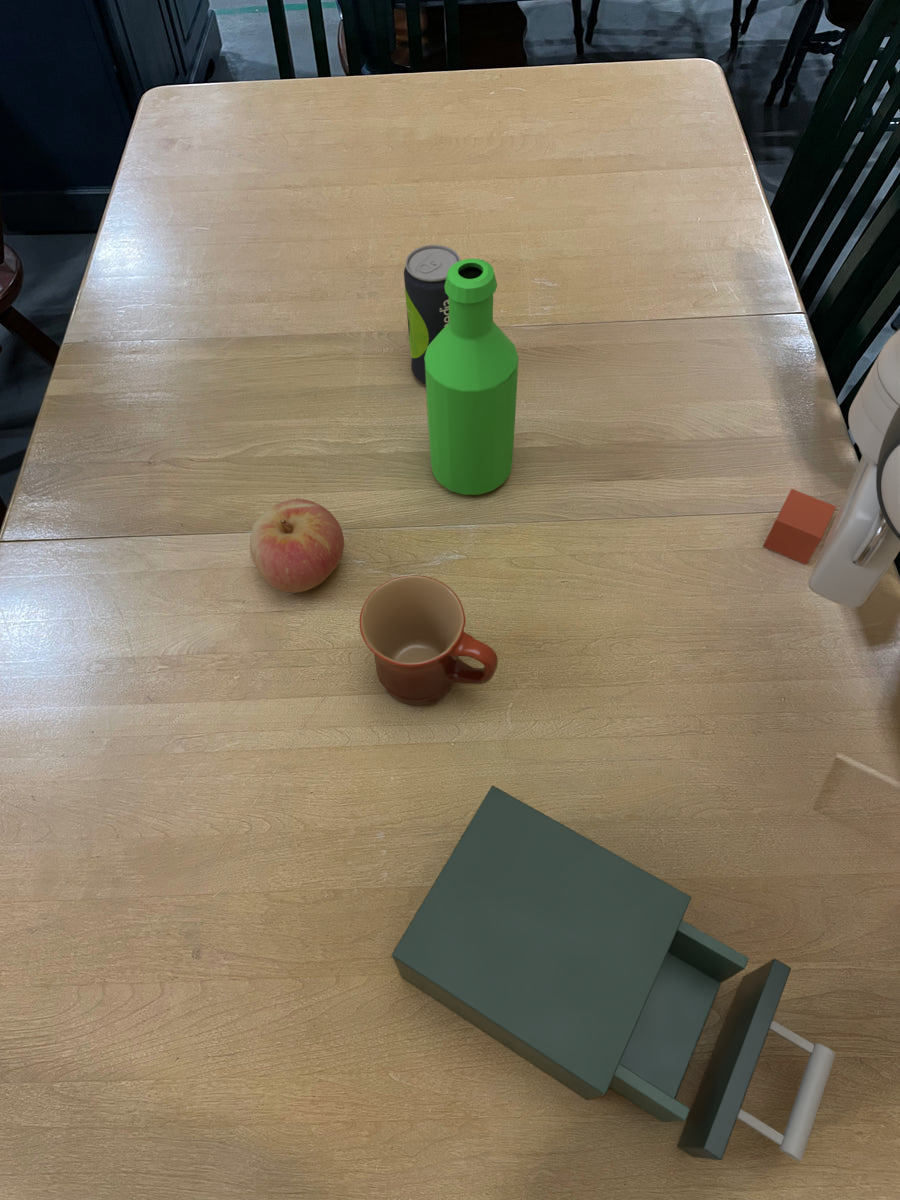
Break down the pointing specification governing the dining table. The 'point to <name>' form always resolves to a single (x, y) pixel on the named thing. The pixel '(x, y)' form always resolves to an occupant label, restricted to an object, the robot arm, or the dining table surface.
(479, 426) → the bottle
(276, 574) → the apple
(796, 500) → the block
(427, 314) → the beverage can
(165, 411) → the dining table surface
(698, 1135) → the drawer
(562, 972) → the cabinet
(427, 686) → the mug
